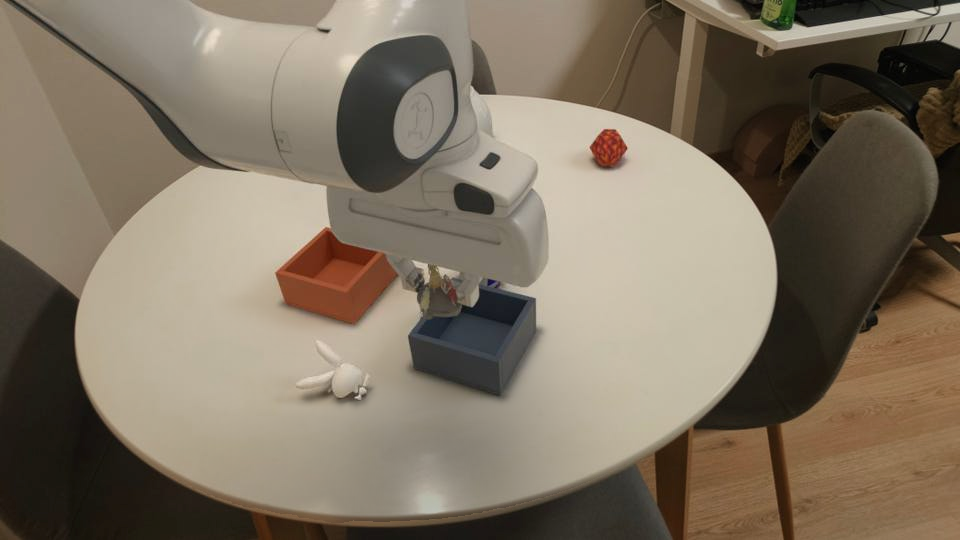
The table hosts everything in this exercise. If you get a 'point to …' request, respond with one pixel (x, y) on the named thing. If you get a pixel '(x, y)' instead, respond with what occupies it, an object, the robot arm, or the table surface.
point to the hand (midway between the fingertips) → (441, 294)
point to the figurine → (438, 296)
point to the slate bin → (477, 340)
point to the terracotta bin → (334, 278)
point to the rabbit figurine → (336, 375)
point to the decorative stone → (608, 147)
